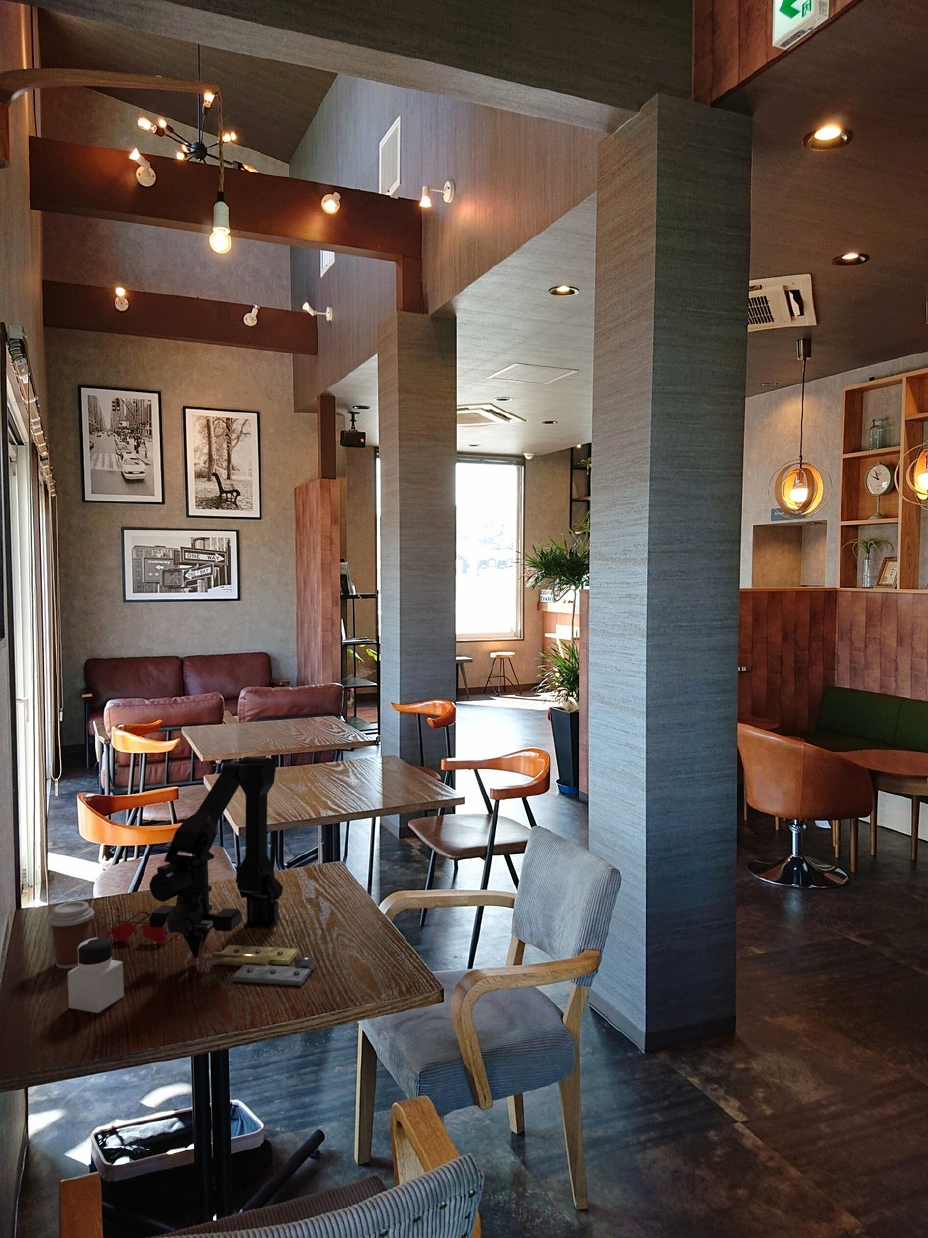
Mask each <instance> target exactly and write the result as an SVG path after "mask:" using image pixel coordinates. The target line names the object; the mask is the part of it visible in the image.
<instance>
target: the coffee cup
mask: <svg viewBox="0 0 928 1238" xmlns="http://www.w3.org/2000/svg"><path fill="white" fill-rule="evenodd" d="M94 916H95V911H94V909H93V908H91V907H90V905H89V902H86V901H83V900H82V901H81V900H76V901H75V900H73V901H68V902H64V903H60V904H59V905H55V907H54V908H53V909H52V913H51V914H50V915H49V916H48V917H47V923H48V925H50V926H51V933H52V941H53V947H54V955H55V956H54V957H55V965H56V967H57V968H59V969H67V970H68V969H74V968H76V967H78V946H79V945H80V944H81V943H82V942H84V941H86V940H89V939H91V927H92V926H91V925H92V919H93V918H94Z"/></svg>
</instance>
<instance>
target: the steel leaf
mask: <svg viewBox="0 0 928 1238" xmlns="http://www.w3.org/2000/svg"><path fill="white" fill-rule="evenodd" d="M294 961H295V962H294V965H295V966H284V965H280V966H279V965H270V966H267V965H250V964H244V965H243V966H240V968H239V969H238V970H237V971H236V972H235V973H234V975H232V982H238V983H239V982H241V983H253V984H255V983H256V984H268V985H269V984H270V985H284V986H298V987H299V986H302V985H303V984H304V983H305V981H306V980H307V979H308V977H309V976H310V975H311V973H312V971H314V970H315V967H316V959H315V957H303V956H296V957H295V960H294Z"/></svg>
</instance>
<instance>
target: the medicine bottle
mask: <svg viewBox="0 0 928 1238" xmlns="http://www.w3.org/2000/svg"><path fill="white" fill-rule="evenodd" d="M112 943H113V942H112V941H111V939H109V938H107V937H100V936H99V937H93V938H90V939H89V940H86V941H84V942H82V943H81V944H80V945H79V946H78V967H75V968H71V969H70V970H69V971H68V972H67V991H68V1008H70V1009H72V1010H79V1011H84V1012H90V1013H94V1014H99V1013H101V1012H102V1011H104V1010H105V1009H106V1008H108V1007H110V1006H111V1005H113V1004H114V1003H116V1002H118V1001H119V1000H121V999H122V998H123V997H124V995H125V993H124V991H125V990H124V963H123V961H121V960H116V959H113V944H112Z"/></svg>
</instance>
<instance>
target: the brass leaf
mask: <svg viewBox="0 0 928 1238" xmlns="http://www.w3.org/2000/svg"><path fill="white" fill-rule="evenodd" d="M298 954H299V949H298V948H286V947H271V946H269V947H267V946H251V945H250V946H249V945H234V944H228V945H227V946H226V947H225V948H224V949H223V950H222V951H221V952H220V951H219V952H218V951H214V952H213V953H212V955H211V961H210V962H211V964H212V965H219V966H220V965H222V966H235V967H236V966H237V967H242V966H243V965H244V964H250V965H267V966H271V965H280V966H289V965H290V964H291V963H292V962H293V960H295V959H296V958H297V957H298Z"/></svg>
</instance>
